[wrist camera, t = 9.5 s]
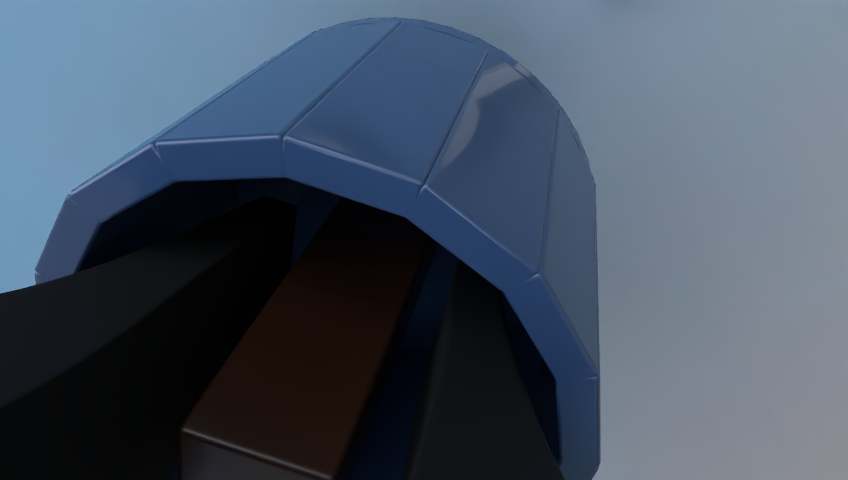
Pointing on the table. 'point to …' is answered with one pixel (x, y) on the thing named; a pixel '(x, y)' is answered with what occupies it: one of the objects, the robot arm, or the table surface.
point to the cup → (390, 200)
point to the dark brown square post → (313, 357)
